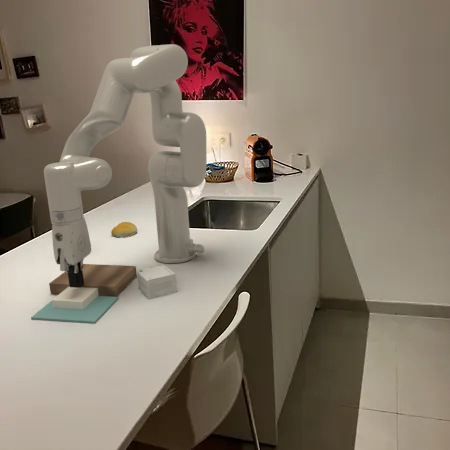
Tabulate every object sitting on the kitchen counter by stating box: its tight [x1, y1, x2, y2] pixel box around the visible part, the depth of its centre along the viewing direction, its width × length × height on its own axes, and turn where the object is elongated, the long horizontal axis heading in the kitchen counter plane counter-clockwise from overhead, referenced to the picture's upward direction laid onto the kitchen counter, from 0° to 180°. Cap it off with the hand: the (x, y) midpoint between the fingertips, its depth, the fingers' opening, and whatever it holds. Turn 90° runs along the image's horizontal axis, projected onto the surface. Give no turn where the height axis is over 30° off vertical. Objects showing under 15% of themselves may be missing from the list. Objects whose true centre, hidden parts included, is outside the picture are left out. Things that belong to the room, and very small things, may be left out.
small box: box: [136, 264, 178, 300], centre depth 131 cm, size 8×8×5 cm
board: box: [48, 263, 137, 297], centre depth 136 cm, size 18×14×3 cm
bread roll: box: [110, 221, 138, 238], centre depth 179 cm, size 8×9×4 cm
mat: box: [31, 296, 119, 324], centre depth 123 cm, size 16×13×1 cm
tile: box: [51, 287, 99, 310], centre depth 126 cm, size 8×8×2 cm
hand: (77, 286), depth 127 cm, fingers closed
